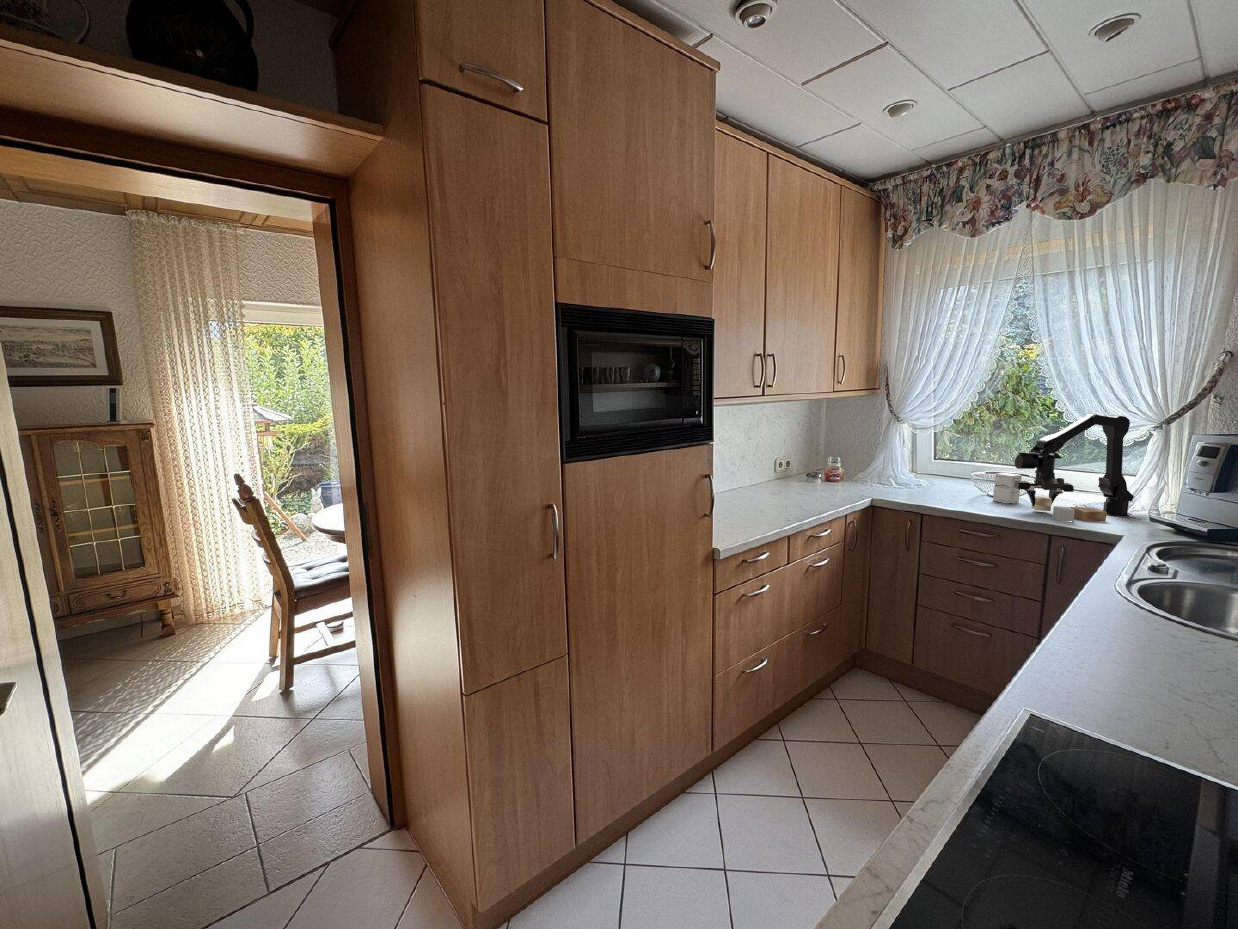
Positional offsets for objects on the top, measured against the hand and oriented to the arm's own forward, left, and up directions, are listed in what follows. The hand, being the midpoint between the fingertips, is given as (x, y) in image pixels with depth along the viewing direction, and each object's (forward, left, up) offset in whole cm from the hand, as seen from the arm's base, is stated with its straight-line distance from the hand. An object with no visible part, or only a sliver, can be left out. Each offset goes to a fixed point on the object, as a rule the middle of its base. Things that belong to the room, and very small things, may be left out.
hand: (1041, 506), depth 229 cm
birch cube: (0, 0, -1) cm, 1 cm away
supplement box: (+7, -19, -2) cm, 20 cm away
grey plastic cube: (-3, +13, -2) cm, 14 cm away
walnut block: (-13, +7, -3) cm, 15 cm away
